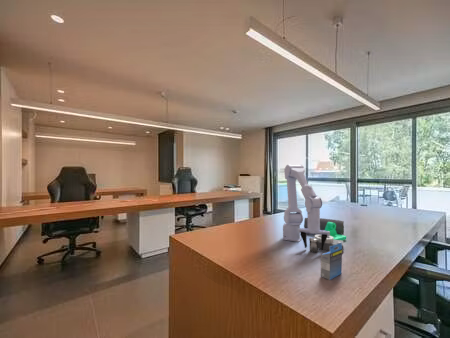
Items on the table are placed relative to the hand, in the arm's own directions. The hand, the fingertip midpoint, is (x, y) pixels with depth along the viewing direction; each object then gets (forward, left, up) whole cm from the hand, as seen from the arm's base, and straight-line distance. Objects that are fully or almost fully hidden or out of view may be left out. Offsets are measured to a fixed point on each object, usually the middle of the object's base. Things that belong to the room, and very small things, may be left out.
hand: (313, 248), depth 112 cm
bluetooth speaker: (+2, +36, -2) cm, 37 cm away
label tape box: (+9, -25, -2) cm, 27 cm away
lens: (0, 0, -1) cm, 1 cm away
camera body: (+6, +9, -1) cm, 11 cm away
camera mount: (+9, +25, -2) cm, 26 cm away
